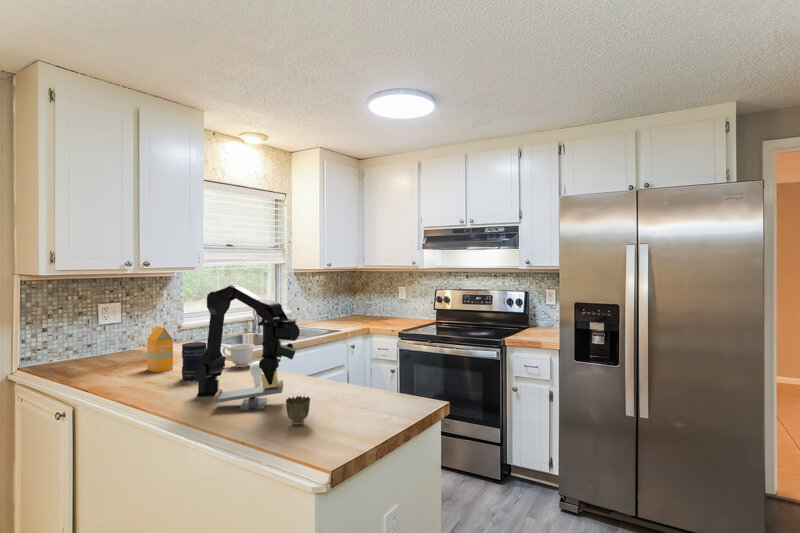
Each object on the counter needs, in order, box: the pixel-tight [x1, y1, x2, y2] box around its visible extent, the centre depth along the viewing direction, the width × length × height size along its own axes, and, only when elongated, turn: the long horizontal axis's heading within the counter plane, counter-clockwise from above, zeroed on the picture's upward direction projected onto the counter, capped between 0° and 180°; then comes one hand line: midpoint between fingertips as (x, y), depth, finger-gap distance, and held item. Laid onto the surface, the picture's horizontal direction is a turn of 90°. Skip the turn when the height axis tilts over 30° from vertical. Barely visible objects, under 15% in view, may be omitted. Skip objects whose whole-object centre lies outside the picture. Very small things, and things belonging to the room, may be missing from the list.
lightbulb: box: [249, 360, 263, 388], centre depth 176 cm, size 6×6×11 cm
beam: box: [213, 379, 284, 404], centre depth 155 cm, size 22×8×2 cm, turn 101°
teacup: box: [222, 343, 255, 368], centre depth 214 cm, size 12×15×10 cm
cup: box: [285, 395, 311, 427], centre depth 137 cm, size 8×7×8 cm
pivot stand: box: [238, 396, 268, 413], centre depth 155 cm, size 8×12×4 cm, turn 11°
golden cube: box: [261, 368, 280, 388], centre depth 156 cm, size 5×5×5 cm
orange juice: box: [146, 326, 174, 373], centre depth 207 cm, size 8×9×20 cm
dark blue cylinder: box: [181, 341, 207, 382], centre depth 192 cm, size 10×10×15 cm
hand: (271, 382), depth 156 cm, fingers closed on golden cube, 5 cm apart
